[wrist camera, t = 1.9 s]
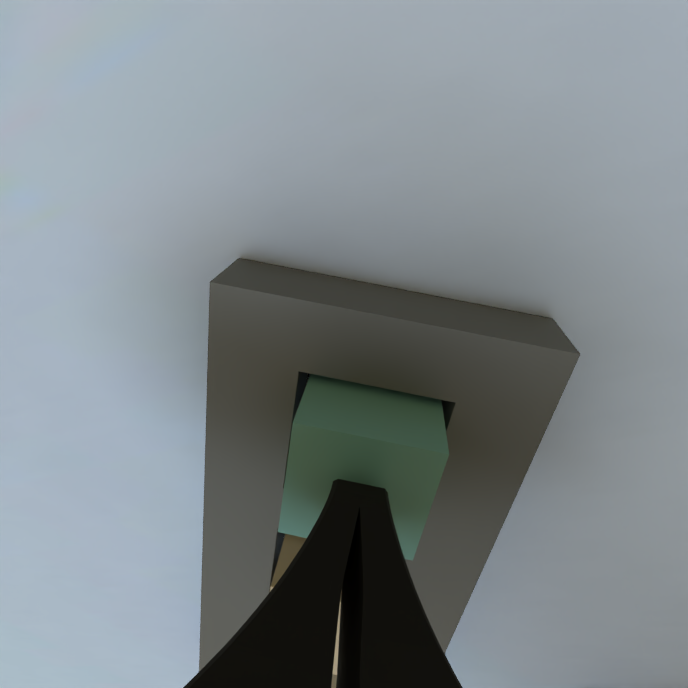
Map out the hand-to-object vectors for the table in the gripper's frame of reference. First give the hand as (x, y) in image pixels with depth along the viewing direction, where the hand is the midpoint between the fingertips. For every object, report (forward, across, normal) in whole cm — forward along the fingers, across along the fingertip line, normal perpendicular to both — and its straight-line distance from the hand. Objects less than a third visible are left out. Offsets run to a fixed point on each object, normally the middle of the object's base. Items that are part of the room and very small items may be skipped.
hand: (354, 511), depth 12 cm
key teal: (+3, 0, 0) cm, 3 cm away
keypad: (+5, 0, +6) cm, 8 cm away
